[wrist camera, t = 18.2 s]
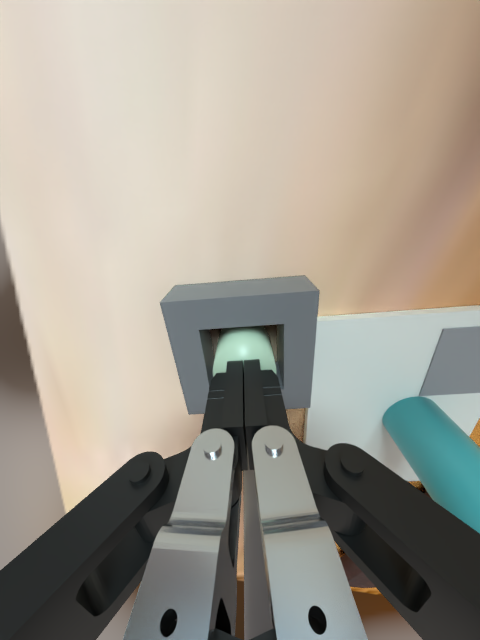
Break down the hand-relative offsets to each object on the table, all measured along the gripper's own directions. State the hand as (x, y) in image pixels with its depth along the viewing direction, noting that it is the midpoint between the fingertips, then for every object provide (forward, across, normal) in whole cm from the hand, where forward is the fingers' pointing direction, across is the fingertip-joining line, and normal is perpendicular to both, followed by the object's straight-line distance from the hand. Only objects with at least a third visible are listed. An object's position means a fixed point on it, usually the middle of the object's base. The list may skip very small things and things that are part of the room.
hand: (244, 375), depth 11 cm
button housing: (+3, 0, 0) cm, 3 cm away
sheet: (+3, -10, +7) cm, 13 cm away
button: (+3, 0, 0) cm, 3 cm away
